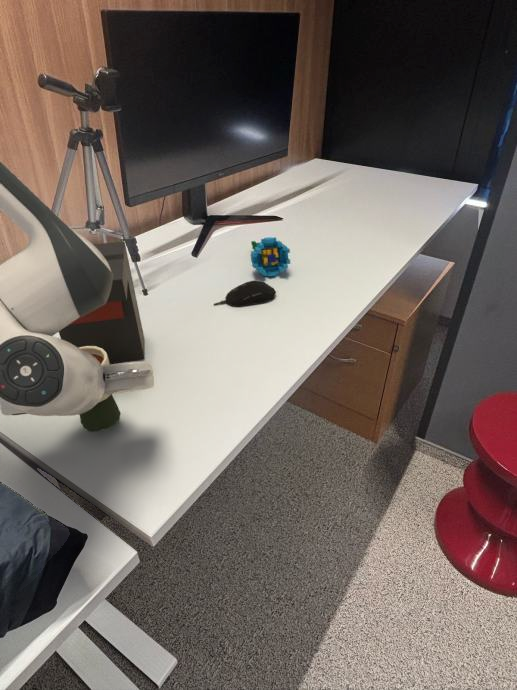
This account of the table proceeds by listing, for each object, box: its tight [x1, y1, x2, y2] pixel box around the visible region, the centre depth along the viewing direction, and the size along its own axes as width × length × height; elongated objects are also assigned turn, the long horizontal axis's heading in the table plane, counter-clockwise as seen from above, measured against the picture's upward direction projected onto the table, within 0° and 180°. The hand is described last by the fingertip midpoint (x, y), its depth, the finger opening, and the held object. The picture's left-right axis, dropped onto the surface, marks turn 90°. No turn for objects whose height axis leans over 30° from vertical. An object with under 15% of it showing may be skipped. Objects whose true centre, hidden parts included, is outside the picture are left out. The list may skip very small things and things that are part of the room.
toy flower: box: [250, 236, 291, 277], centre depth 123 cm, size 9×9×18 cm
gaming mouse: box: [213, 280, 277, 307], centre depth 110 cm, size 6×15×4 cm, turn 108°
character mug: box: [78, 346, 121, 432], centre depth 76 cm, size 11×7×13 cm, turn 6°
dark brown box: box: [58, 240, 146, 364], centre depth 87 cm, size 14×14×22 cm
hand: (92, 387), depth 76 cm, fingers closed on character mug, 7 cm apart
